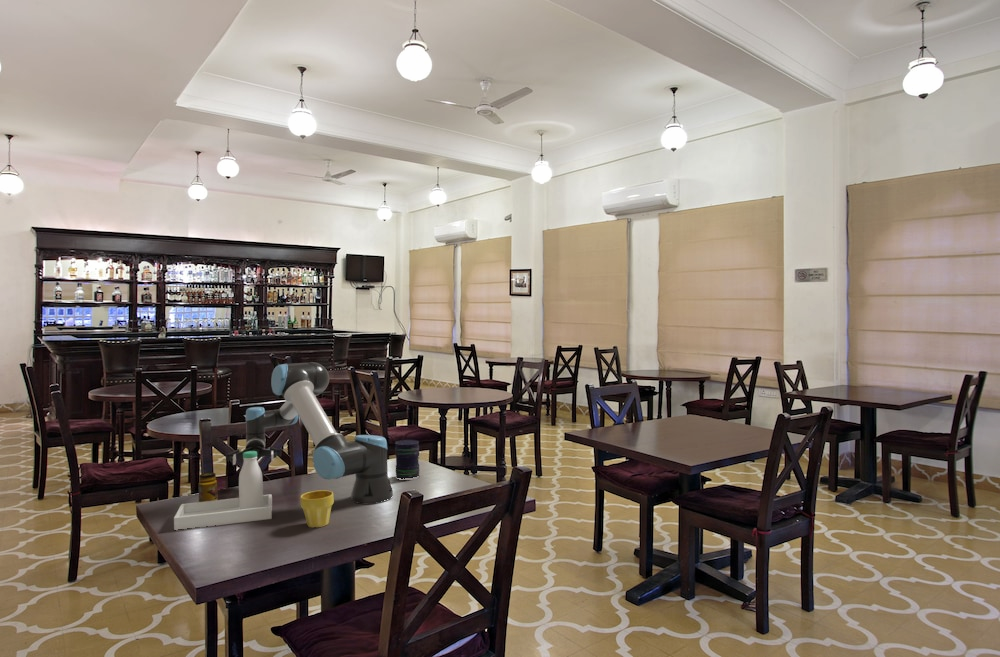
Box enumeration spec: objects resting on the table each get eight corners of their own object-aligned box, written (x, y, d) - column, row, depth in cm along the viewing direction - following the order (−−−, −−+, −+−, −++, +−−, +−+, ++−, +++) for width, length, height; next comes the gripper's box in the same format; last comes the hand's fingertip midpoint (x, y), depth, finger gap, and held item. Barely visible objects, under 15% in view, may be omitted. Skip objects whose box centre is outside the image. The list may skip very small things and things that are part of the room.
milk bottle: (267, 508, 210) (266, 451, 210) (246, 514, 204) (244, 455, 204) (256, 504, 215) (255, 448, 215) (235, 510, 209) (233, 452, 209)
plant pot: (294, 528, 193) (293, 497, 193) (313, 518, 203) (312, 489, 203) (322, 531, 190) (321, 500, 190) (340, 520, 200) (339, 490, 200)
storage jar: (424, 477, 253) (423, 441, 252) (405, 482, 246) (404, 445, 245) (409, 473, 259) (408, 438, 259) (390, 478, 252) (390, 442, 252)
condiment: (220, 507, 216) (219, 474, 216) (193, 512, 211) (192, 478, 211) (216, 502, 222) (216, 470, 222) (191, 507, 217) (190, 474, 217)
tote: (271, 505, 218) (271, 494, 218) (271, 518, 203) (271, 506, 203) (181, 515, 208) (181, 504, 208) (174, 530, 193) (173, 518, 193)
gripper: (287, 454, 255) (288, 466, 235) (222, 460, 247) (217, 472, 227) (286, 437, 255) (287, 446, 235) (221, 442, 246) (217, 452, 226)
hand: (253, 459), depth 231 cm, fingers open, 13 cm apart
